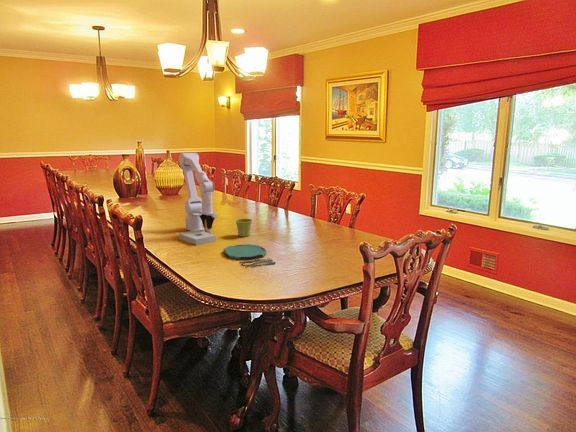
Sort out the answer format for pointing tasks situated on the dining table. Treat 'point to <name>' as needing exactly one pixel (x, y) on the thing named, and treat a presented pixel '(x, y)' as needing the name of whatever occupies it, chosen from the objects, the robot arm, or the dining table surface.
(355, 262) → the dining table surface
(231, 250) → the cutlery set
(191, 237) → the hole board
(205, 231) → the dowel
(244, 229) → the plant pot
